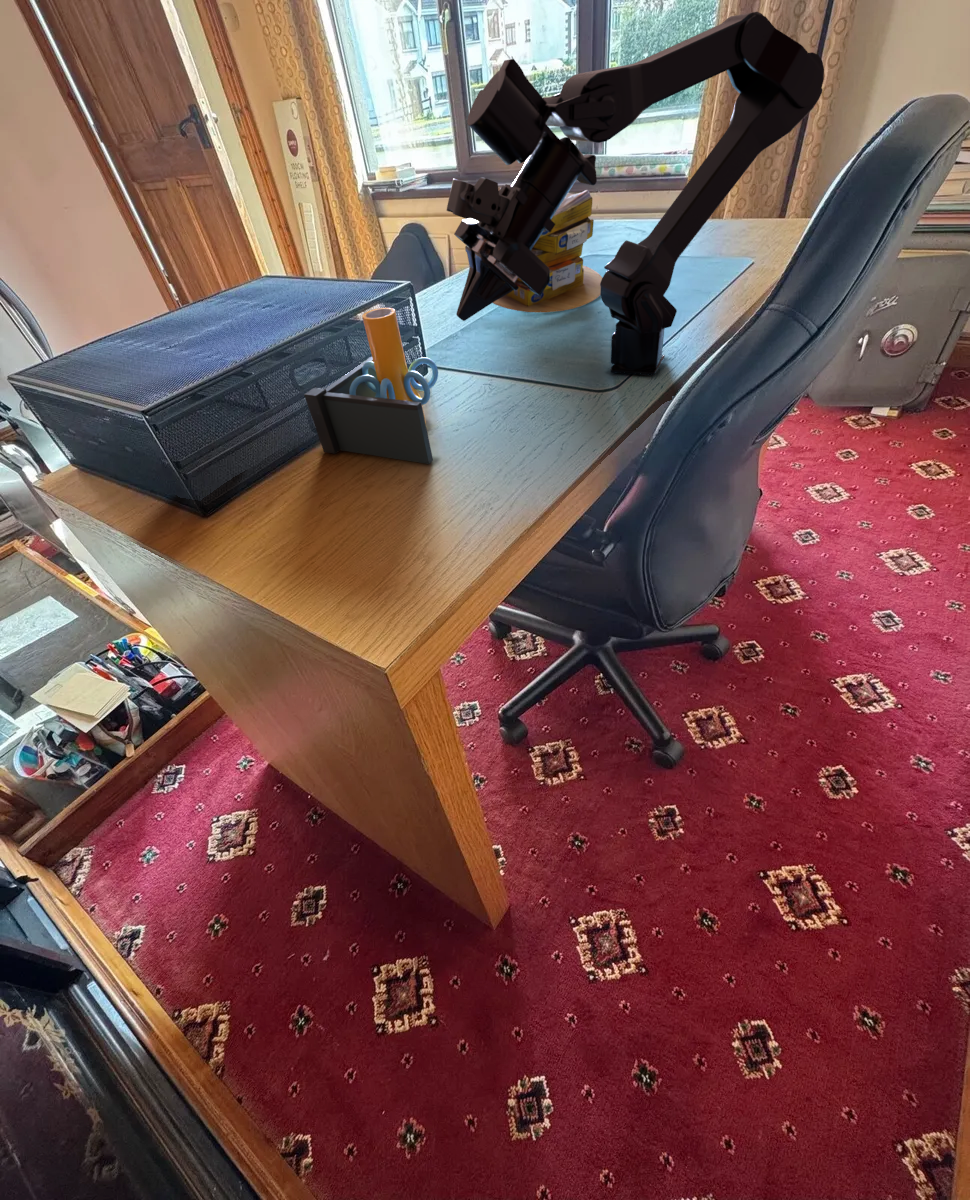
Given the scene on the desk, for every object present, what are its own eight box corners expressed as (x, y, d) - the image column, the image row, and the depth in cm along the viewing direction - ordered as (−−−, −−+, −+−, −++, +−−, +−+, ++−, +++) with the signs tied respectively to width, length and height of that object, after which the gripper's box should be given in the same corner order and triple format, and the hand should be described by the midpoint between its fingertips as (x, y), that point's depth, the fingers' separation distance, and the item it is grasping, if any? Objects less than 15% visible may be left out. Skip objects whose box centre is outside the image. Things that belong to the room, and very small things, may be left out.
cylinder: (435, 450, 72) (412, 327, 62) (358, 454, 74) (322, 335, 63) (448, 407, 81) (430, 293, 71) (379, 411, 82) (350, 301, 72)
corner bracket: (485, 406, 80) (478, 348, 74) (425, 468, 69) (411, 406, 64) (391, 397, 86) (379, 343, 80) (323, 452, 75) (303, 394, 70)
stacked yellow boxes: (630, 291, 109) (636, 185, 97) (518, 325, 102) (511, 216, 91) (561, 269, 125) (559, 176, 114) (461, 296, 119) (449, 202, 108)
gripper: (458, 138, 67) (390, 262, 73) (515, 145, 54) (426, 296, 59) (524, 204, 74) (457, 313, 79) (589, 226, 60) (503, 355, 66)
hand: (459, 318), depth 71 cm, fingers closed
